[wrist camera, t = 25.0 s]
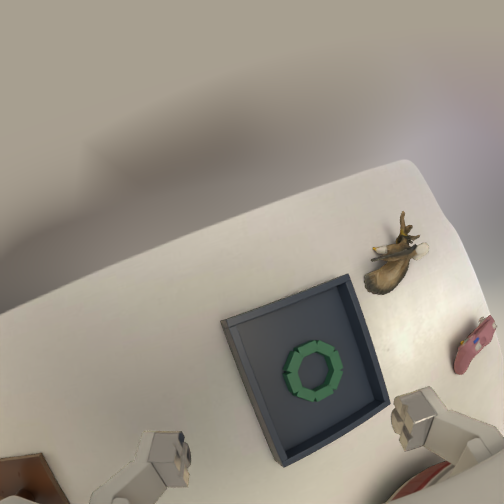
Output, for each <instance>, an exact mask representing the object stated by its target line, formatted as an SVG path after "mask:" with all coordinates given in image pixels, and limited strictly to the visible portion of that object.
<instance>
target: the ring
mask: <svg viewBox="0 0 504 504" xmlns="http://www.w3.org/2000/svg"><path fill="white" fill-rule="evenodd" d="M293 349H294V351H290V353H289V356H288V358H287V361H286V363H285V365H284V368H283V370H284V371H286V372H285V373H283V377H284V380H285V382H286V385H287V388H288V390H289V392H291V393H292V395H293V396H296V397H299V398H302V399H304V400H307V401H310V402H314V401H315V402H318V401H320V400H322V399H324V398H326V397H328V396H329V395H331V394H333V393H334V392H333V390H337V387H338V384H339V382H340V379H341V377H342V374H343V371H341V369H342V368H343V365H342V362H341V359H340V356H339V353H338V350H334V349H335V347H333V346H331V345H329V344H327V343H325V342H322V341H320V340H309V341H307V342H305V343H303V344H301V345H298V346H296V347H294V348H293ZM314 352H315V353H318V354H320V355H322V356H324V357H325V360H326V363H327V366H328V369H329V371H328V373H327V376H326V379H325V381H324V384H322V385H320V386H318V387H316V388H314V389H312V390H310V389H308V388H305V387H303V386H302V383H301V381H300V378H299V375H298V370H299V367H300V365H301V362H302V360H303V358H304V357H306V356H308V355H310V354H312V353H314Z"/></svg>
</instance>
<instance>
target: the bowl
mask: <svg viewBox="0 0 504 504" xmlns="http://www.w3.org/2000/svg"><path fill="white" fill-rule="evenodd" d="M454 467H455V465H453V464H451V463H450V462H448V461H445V462H442V463H439V464H436V465H434V466H431V467H429V468H427V469H426V470H424V471H422V472H420V473H419V474H417V475H415V476H414V477H412V478H411V479H409V480H408V481H407V482H405V483H404V484H403V485H402V486H401V487H400V488H399V489H398V490H397V491H396V492H395V493H394V494H393V495H392V496H391V497H390V498H389V499H388V501H387V502H389V501H392V500H395V499H398V498H401V497H404V496H407V495H409V494H412V493H415V492H417V491H420V490H422V489H425V488H427V487H430V486H432V485H434V484H437V483H439V482H441V481H444V480H446V479H448V478H449V476H450V474H451V472H452V470H453V469H454Z"/></svg>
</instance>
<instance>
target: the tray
mask: <svg viewBox="0 0 504 504" xmlns="http://www.w3.org/2000/svg"><path fill="white" fill-rule="evenodd" d="M221 324H222V327H223V330H224V333H225V335H226V338H227V341H228V343H229V346H230V349H231V352H232V354H233V357H234V360H235V362H236V365H237V368H238V370H239V373H240V375H241V378H242V381H243V383H244V386H245V388H246V391H247V393H248V396H249V398H250V401H251V403H252V406H253V408H254V411H255V413H256V416H257V418H258V421H259V423H260V426H261V428H262V431H263V433H264V435H265V438H266V440H267V443H268V445H269V447H270V450H271V452H272V454H273V457H274V459H275V461H276V462H278V463H279V464H280V465H281V466H283V467H286V466H288V465H290V464H292V463H294V462H296V461H298V460H300V459H302V458H304V457H306V456H308V455H310V454H312V453H313V452H315V451H317V450H319V449H321V448H322V447H324V446H326V445H328V444H329V443H331V442H333V441H334V440H336V439H338V438H340V437H341V436H343V435H344V434H346V433H348V432H349V431H351V430H353V429H354V428H356V427H357V426H359V425H360V424H362V423H363V422H365V421H366V420H368V419H370V418H371V417H372V416H374V415H375V414H377V413H378V412H380V411H381V410H383V409H384V408H386V407H387V406H388V405H390V404H391V403H390V399H389V396H388V392H387V389H386V385H385V382H384V378H383V375H382V372H381V368H380V365H379V362H378V359H377V355H376V352H375V349H374V346H373V343H372V340H371V337H370V334H369V331H368V328H367V325H366V322H365V319H364V316H363V313H362V310H361V307H360V304H359V301H358V298H357V296H356V293H355V290H354V287H353V285H352V282H351V279H350V277H349V274H345V275H342V276H340V277H337V278H334V279H332V280H329V281H327V282H324V283H322V284H319V285H317V286H314V287H312V288H309V289H307V290H304V291H301V292H299V293H296V294H294V295H291V296H288V297H286V298H283V299H280V300H278V301H275V302H272V303H270V304H267V305H264V306H261V307H259V308H256V309H253V310H250V311H248V312H245V313H242V314H239V315H236V316H234V317H231V318H228V319H225V320H222V321H221ZM309 340H320V341H322V342H325V343H327V344H329V345H331V346H333V347H335V349H334V350H338V353H339V356H340V359H341V362H342V365H343V368H342V369H341V371H343V374H342V377H341V379H340V382H339V384H338V387H337V390H333V392H334V393H333V394H331V395H329V396H328V397H326V398H324V399H322V400H320V401H318V402H315V401H314V402H310V401H307V400H304V399H302V398H299V397H296V396H293V395H292V393H291V392H289V390H288V388H287V385H286V382H285V380H284V377H283V373H285V372H286V371H284V370H283V368H284V365H285V363H286V361H287V358H288V356H289V353H290V351H294V349H293V348H294V347H296V346H298V345H301V344H303V343H305V342H307V341H309ZM328 371H329V369H328V366H327V363H326V360H325V357H324V356H322V355H320V354H318V353H315V352H314V353H312V354H310V355H308V356H306V357H304V358H303V360H302V362H301V365H300V367H299V370H298V375H299V378H300V381H301V383H302V386H303V387H305V388H308V389H310V390H312V389H314V388H316V387H318V386H320V385H322V384H324V381H325V379H326V376H327V373H328Z"/></svg>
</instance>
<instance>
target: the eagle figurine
mask: <svg viewBox="0 0 504 504" xmlns="http://www.w3.org/2000/svg"><path fill="white" fill-rule="evenodd" d="M404 216H405V213H404V211H402V213H401V216H400V225H401V227H400V234H399V236H398V238H397V239H396V244H391V245H387V246H381V247H377V248H375V247H373V250H375V251H376V252H377V253H379V254H384V255H382V256H380V257H378V258H373V259H371V261H372V262H373V261H377V260H384V261H388V262H387V263H386V264H385V265H384V266H382V267H381V268H380V269H378V270H375V271H373V272H371V273H368V274H367V275H365V281H364V282H365V284H366V285H365V288H366V289H368V292H372V293H373V294H376V293H378V295H380V294H382V295H384V294H387V293H389V292H390V291H392V290H393V289H394V288H395V287H396V286H397V285H398V284H399V283H400V281H401V280H402V279H403V278H404V276H405V274H406V272H407V270H408V267H409V266H408V265H409V261H410V259H411V258H413V259H414V260H419V259H421V258H422V257H423V256H425V255H426V254H427V253H428V251H429V245H428V244H427V243H421V244H419V245H418V246H417V245H416V244H414V245H413V246H412V247H410V246H409V243H413V242H412V241H411V240H413V241H414V240H415V239H417V238H419V237H420V235H417V236H410V235H408V233H409V232H410V230H411V229H412V227H413V226H412V225H408V226H406V227H405V222H404Z"/></svg>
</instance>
